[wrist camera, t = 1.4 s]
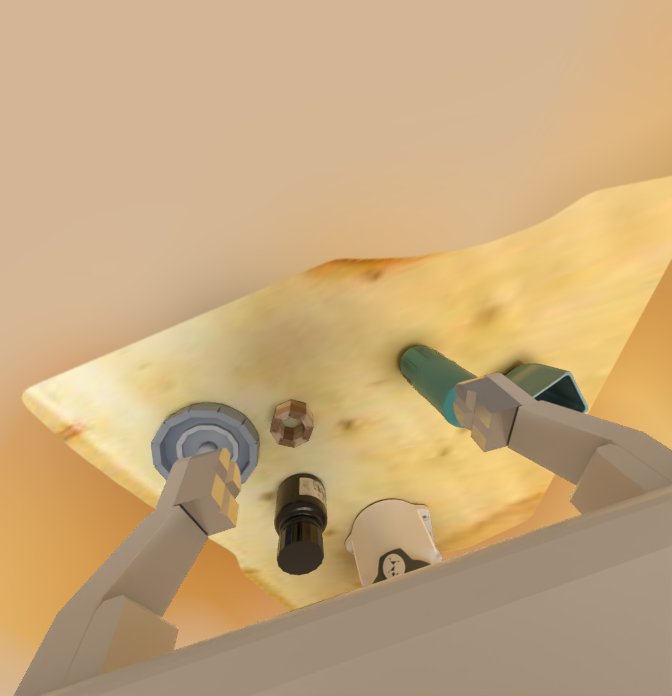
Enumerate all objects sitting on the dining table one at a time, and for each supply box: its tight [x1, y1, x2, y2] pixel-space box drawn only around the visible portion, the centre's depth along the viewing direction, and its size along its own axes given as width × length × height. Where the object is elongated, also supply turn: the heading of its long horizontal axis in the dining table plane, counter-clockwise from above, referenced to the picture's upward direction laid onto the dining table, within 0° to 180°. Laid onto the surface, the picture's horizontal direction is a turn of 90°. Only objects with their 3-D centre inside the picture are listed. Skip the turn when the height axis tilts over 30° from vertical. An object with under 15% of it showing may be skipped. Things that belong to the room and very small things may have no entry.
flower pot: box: [505, 364, 588, 413], centre depth 43 cm, size 9×9×9 cm
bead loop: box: [270, 400, 314, 448], centre depth 43 cm, size 6×6×4 cm
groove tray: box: [151, 403, 259, 485], centre depth 43 cm, size 16×16×3 cm
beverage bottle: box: [400, 345, 478, 428], centre depth 35 cm, size 6×7×20 cm
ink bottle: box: [274, 474, 327, 575], centre depth 44 cm, size 10×9×12 cm
